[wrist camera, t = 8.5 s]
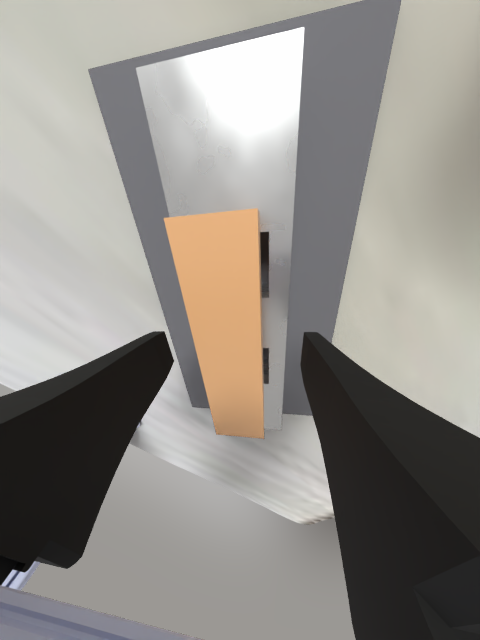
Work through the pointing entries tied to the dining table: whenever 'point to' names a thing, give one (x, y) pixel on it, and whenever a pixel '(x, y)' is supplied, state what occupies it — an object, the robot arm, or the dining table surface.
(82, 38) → the dining table surface
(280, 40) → the rail
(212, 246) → the orange foam brick
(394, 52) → the dining table surface
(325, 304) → the mat
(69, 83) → the dining table surface
